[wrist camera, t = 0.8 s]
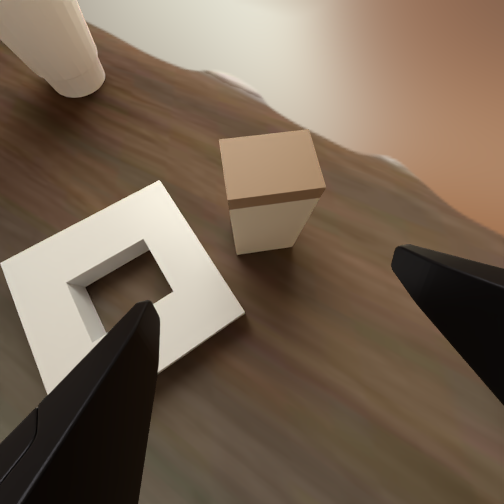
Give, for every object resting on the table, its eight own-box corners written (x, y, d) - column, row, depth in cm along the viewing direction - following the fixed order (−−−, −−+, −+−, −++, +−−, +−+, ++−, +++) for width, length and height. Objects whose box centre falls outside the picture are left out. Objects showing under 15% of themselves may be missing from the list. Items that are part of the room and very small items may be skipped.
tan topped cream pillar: (292, 246, 24) (325, 187, 14) (236, 255, 24) (227, 200, 13) (283, 209, 26) (308, 129, 15) (231, 216, 25) (219, 139, 15)
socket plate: (245, 313, 22) (244, 312, 20) (86, 424, 19) (63, 438, 17) (167, 193, 26) (159, 180, 24) (26, 269, 23) (0, 263, 21)
